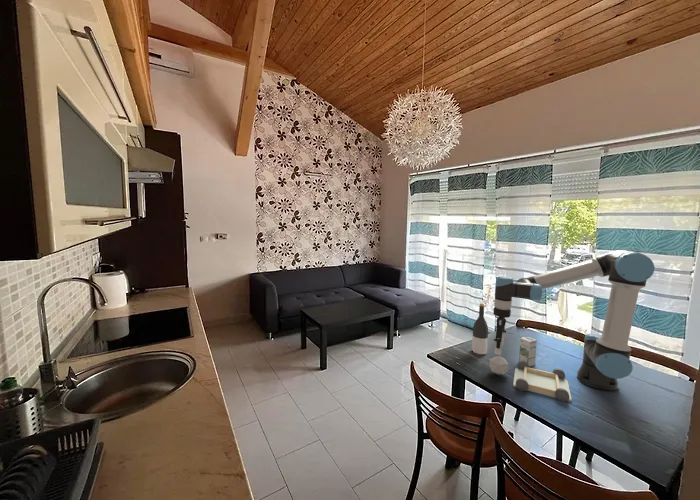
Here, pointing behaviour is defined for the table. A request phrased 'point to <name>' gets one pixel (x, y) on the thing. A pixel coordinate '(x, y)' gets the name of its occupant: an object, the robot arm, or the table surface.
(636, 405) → the table surface
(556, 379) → the chassis
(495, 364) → the die
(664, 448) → the table surface
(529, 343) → the syrup box
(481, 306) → the wine bottle
